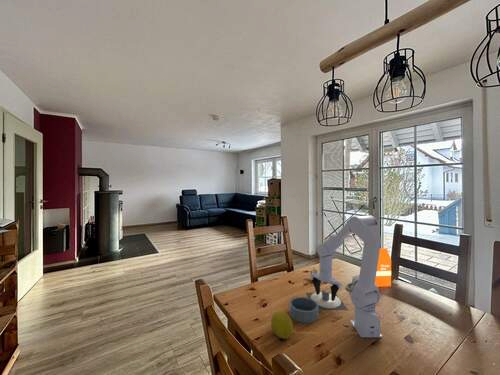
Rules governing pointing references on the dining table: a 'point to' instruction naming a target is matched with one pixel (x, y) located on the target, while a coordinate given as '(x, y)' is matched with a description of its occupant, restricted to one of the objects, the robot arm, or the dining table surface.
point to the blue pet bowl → (303, 309)
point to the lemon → (282, 325)
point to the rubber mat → (341, 307)
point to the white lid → (326, 300)
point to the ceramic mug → (354, 281)
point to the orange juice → (383, 269)
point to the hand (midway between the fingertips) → (325, 296)
